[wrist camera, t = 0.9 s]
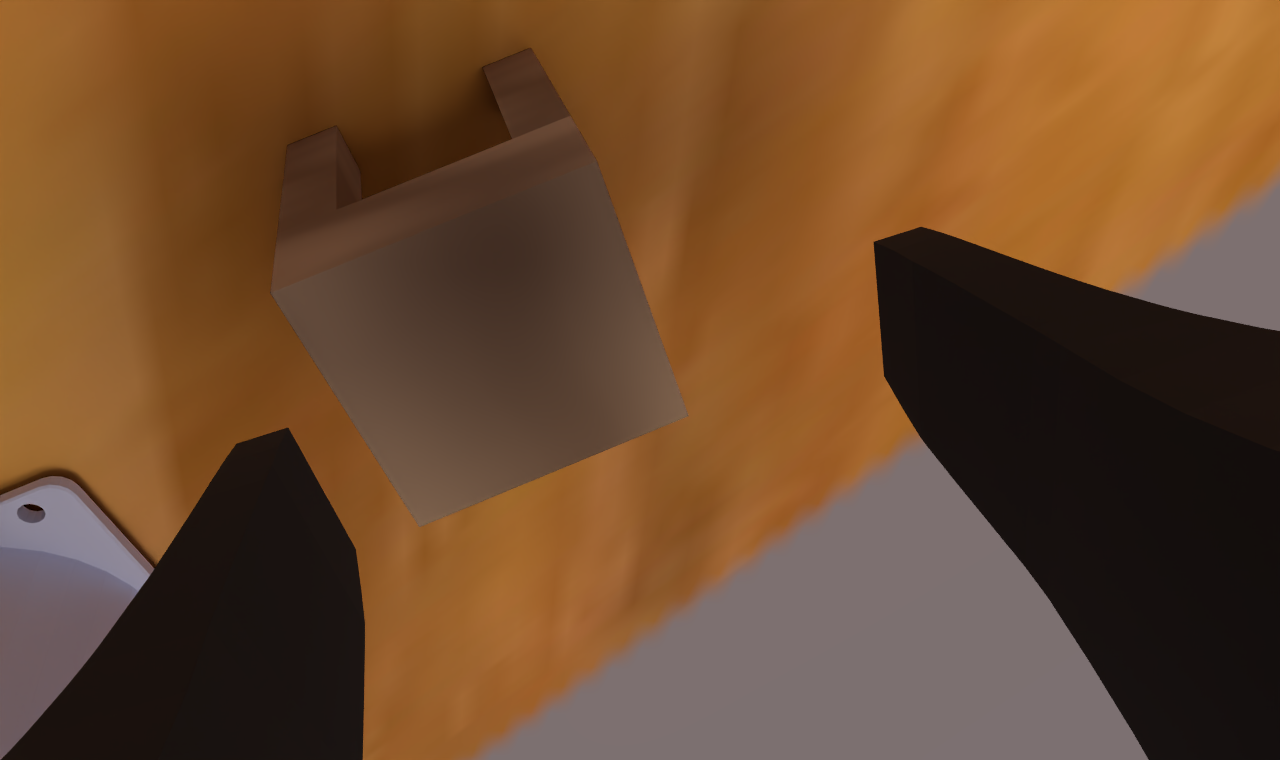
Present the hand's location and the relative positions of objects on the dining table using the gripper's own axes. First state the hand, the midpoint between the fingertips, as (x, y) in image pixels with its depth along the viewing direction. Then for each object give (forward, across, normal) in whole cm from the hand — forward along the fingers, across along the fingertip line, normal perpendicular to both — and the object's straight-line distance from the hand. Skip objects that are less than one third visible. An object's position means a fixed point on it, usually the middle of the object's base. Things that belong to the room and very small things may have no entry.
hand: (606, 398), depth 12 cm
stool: (+10, +1, +1) cm, 10 cm away
